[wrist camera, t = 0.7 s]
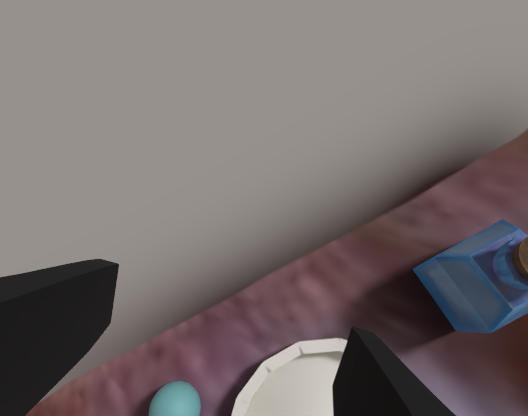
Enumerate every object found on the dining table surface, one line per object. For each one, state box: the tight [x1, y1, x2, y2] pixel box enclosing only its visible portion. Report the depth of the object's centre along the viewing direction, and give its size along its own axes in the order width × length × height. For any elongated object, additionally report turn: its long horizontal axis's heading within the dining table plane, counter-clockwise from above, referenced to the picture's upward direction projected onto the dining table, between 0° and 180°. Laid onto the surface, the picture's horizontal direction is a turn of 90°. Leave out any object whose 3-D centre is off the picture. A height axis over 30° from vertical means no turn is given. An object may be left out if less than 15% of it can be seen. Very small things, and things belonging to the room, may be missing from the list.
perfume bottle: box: [413, 219, 528, 333], centre depth 23 cm, size 6×6×12 cm
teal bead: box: [149, 381, 201, 416], centre depth 27 cm, size 4×4×4 cm
